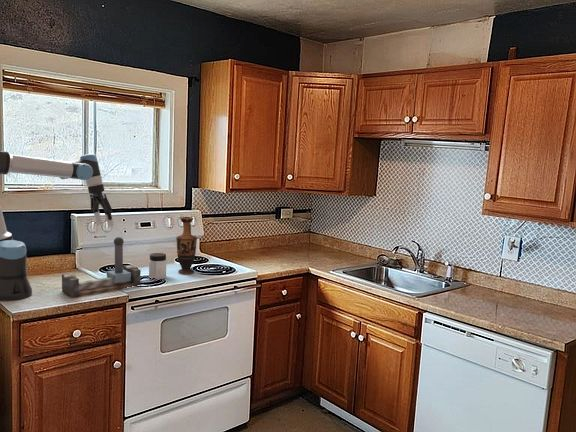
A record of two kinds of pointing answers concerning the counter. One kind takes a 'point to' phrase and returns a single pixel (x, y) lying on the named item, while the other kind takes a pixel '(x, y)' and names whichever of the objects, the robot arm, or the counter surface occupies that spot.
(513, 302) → the counter surface
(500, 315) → the counter surface
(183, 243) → the vase
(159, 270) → the jar
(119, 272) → the carriage
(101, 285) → the rail
